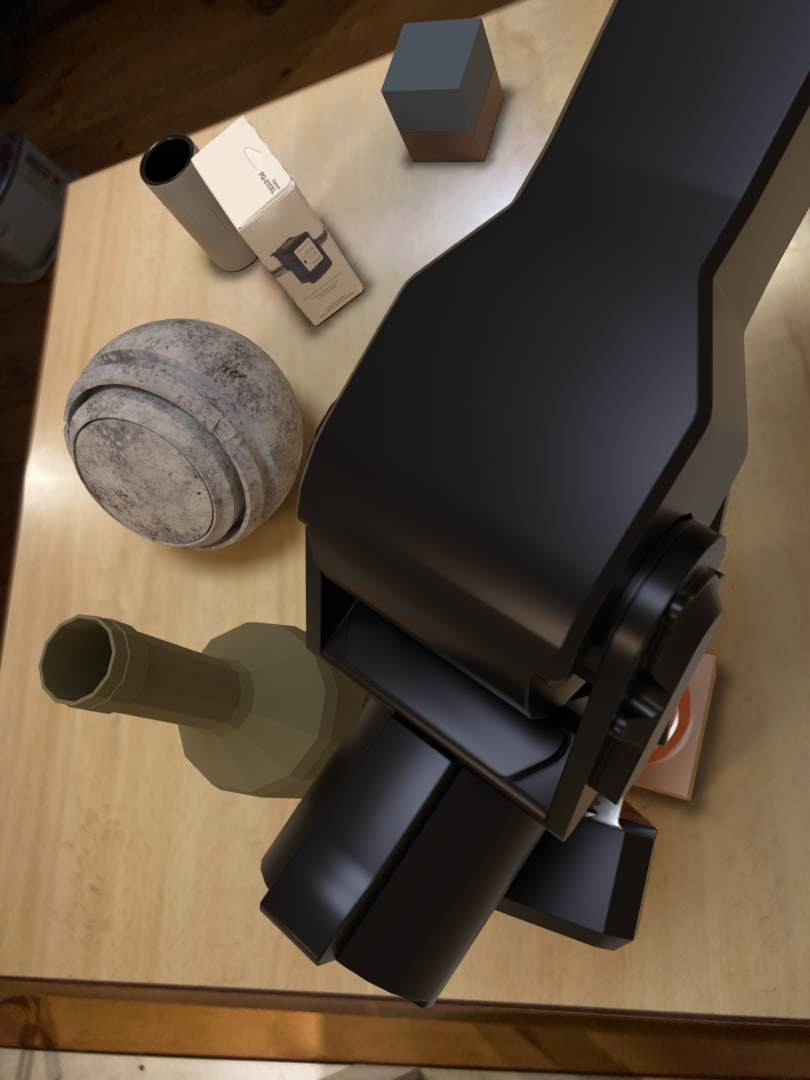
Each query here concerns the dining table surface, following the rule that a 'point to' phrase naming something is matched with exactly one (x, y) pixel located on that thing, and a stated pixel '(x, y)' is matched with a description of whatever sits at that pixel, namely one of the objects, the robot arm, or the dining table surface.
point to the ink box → (276, 220)
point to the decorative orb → (185, 433)
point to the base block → (459, 133)
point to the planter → (193, 201)
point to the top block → (439, 76)
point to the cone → (675, 730)
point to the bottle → (213, 697)
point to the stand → (682, 765)
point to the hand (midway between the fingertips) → (624, 697)
